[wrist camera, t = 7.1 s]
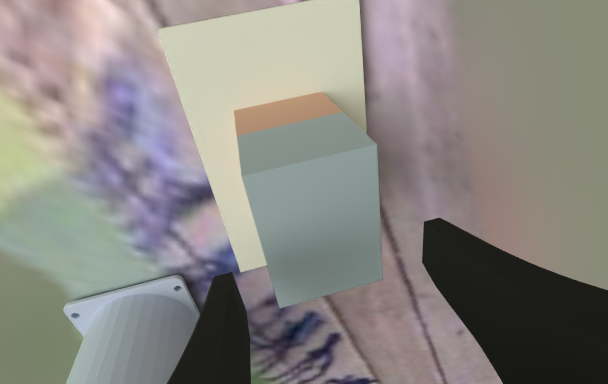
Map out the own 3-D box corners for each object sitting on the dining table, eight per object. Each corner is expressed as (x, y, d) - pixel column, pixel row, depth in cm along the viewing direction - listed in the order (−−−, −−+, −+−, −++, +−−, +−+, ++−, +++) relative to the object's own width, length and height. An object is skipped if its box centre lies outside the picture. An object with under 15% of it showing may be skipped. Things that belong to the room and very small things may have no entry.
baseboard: (370, 232, 26) (373, 237, 25) (240, 266, 25) (240, 272, 25) (354, -9, 18) (358, -9, 17) (158, 28, 17) (156, 29, 16)
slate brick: (354, 229, 19) (382, 279, 16) (269, 252, 19) (279, 308, 16) (343, 111, 16) (377, 144, 12) (237, 135, 15) (241, 176, 12)
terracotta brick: (334, 195, 23) (354, 230, 19) (261, 213, 22) (268, 252, 19) (321, 91, 19) (343, 112, 16) (233, 110, 19) (236, 136, 15)
